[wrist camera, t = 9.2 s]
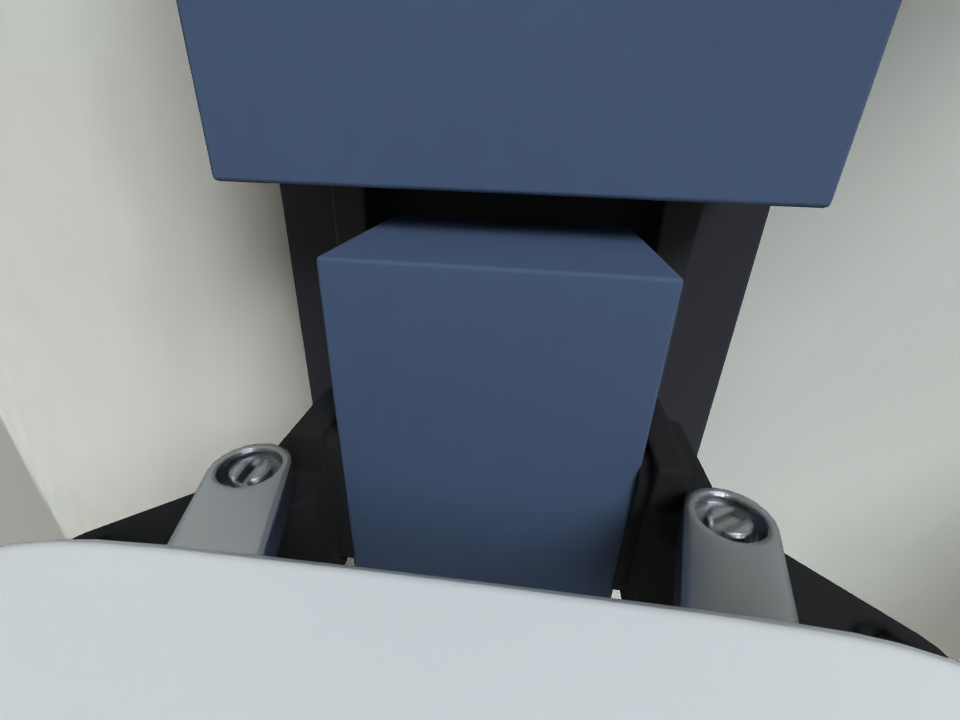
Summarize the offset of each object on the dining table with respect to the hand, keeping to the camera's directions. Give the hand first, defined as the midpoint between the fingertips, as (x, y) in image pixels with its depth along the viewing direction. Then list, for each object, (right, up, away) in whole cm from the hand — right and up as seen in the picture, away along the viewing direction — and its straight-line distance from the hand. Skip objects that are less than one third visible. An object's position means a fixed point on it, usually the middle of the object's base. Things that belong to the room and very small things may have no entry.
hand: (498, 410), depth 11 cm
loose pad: (0, 0, 0) cm, 0 cm away
